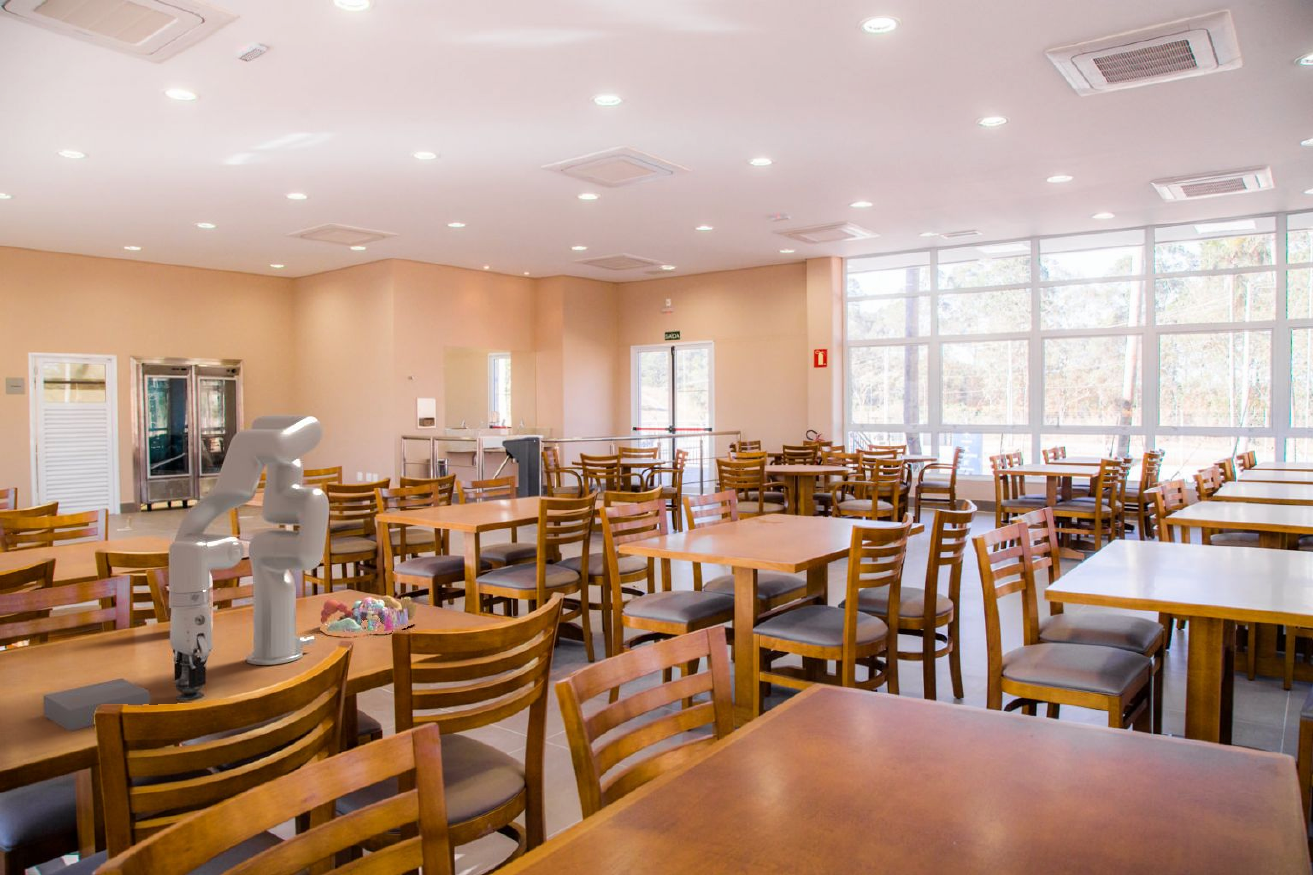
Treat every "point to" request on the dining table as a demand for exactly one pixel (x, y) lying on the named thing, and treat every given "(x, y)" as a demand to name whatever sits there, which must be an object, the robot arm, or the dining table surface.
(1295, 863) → the dining table surface
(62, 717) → the stand
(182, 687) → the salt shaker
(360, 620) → the candy landscape model
